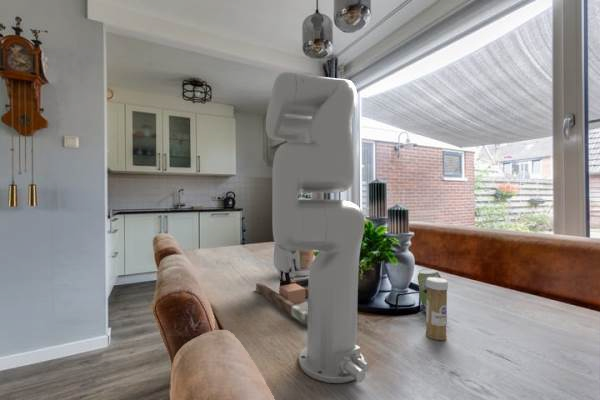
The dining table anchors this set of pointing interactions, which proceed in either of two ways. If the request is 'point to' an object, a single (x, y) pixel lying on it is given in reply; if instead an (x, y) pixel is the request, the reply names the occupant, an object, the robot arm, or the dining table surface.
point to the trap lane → (286, 304)
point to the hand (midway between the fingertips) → (285, 291)
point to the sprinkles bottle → (436, 308)
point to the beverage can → (422, 284)
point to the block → (292, 293)
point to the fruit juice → (305, 262)
